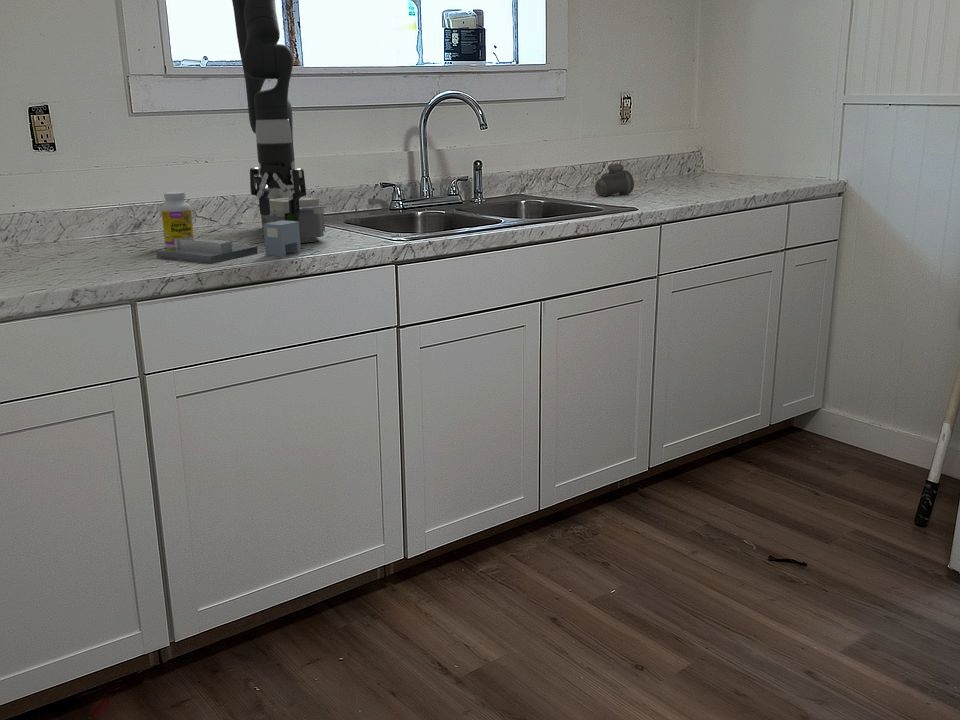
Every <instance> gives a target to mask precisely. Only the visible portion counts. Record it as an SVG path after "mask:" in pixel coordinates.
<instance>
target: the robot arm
mask: <svg viewBox="0 0 960 720" xmlns="http://www.w3.org/2000/svg"><path fill="white" fill-rule="evenodd" d="M231 2H232V8H233V13H234V22H235V30H236V37H237V44H238V50H239V54H240V59H241V63H242V70H243V76H244V81H245V89H246V90H245V91H246V100H247V109H248V119H249V125H250V128H251V131H252V132H253V133H254V135H255V138H256V151H257V152H256V153H257V154H256V155H257V161H258V167H251V168H250V169H249V181H250V183H249V185H250V186H249V187H250V195H252V196H255V197H256V198H258V203H259V204H258V207H259V213H260V212H261V214H260V216H261V215H270V203H269V199H278V198H289V199H290V200H289V212H290V217H298V216H299V213H300V207H299V199H300V198H304V197H306V196H307V188H306V179H305V172H304V169H303V168H296V165H295V152H294V139H293V138H294V134H293V133H294V132H293V127H294V126H293V109H292V108H293V107H292V104H291V102H290V100H289V98H288V97H289V86H290V82H291V78H292V77H291V76H292V72H293V67H294V55H293V53H292V50H291V49H290V48H289V47H288V46H287V45H285V44H280V43H279V41H280V36H281V35H280V34H281V33H280V26H279V20H278V15H277V10H276V9H277V7H276V0H231ZM278 43H279V44H278ZM266 80H277V81H276V84H275V86H274V87H272V88H270V89H266V90H262V88H263V87H264V83H265V81H266Z"/></svg>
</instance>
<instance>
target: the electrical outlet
mask: <svg viewBox="0 0 960 720" xmlns="http://www.w3.org/2000/svg"><path fill="white" fill-rule="evenodd" d="M289 200H290V199H289V198H278V199H269V203H270V215H261V212H260V211H259V214H260V217H261V228H262V234H263V236H264V226H263V224H265V223H270V222H276V221H281V220H284V221H297V222H299V233H300V244H302V243H303V244H304V243H313V242H316V241H317V239H316V238H321V237H324V234H325V233H324V232H325V231H326V226H325V225H326V224H325V223H326V222H325V215H324V213H325V212H324V211H325V208H327V206H324V205H320V199H319V198H314V197H313V198H310V197H301V198H300V199H299V207H300V213H299V216H298V217H290V212H289Z"/></svg>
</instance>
